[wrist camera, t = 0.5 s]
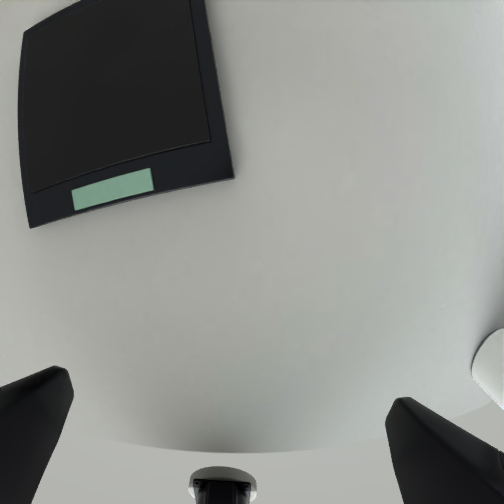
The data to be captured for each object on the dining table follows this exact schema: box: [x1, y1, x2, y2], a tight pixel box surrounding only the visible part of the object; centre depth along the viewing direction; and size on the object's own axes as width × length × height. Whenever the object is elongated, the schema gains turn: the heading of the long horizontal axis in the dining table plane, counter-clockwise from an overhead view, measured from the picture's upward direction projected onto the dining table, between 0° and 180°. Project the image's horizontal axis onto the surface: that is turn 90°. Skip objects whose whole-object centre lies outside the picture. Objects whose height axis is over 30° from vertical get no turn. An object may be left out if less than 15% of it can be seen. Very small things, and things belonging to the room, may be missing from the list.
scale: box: [18, 0, 235, 229], centre depth 17 cm, size 18×16×2 cm
